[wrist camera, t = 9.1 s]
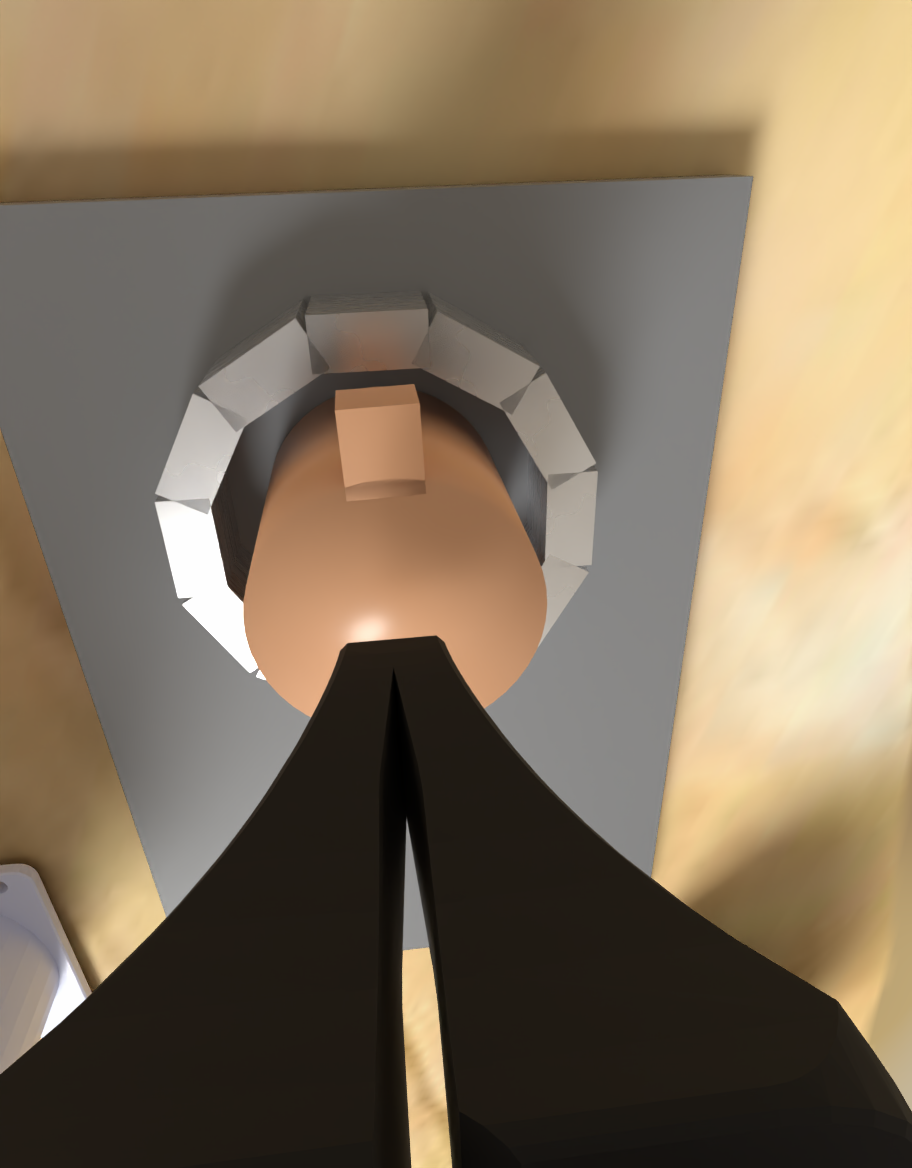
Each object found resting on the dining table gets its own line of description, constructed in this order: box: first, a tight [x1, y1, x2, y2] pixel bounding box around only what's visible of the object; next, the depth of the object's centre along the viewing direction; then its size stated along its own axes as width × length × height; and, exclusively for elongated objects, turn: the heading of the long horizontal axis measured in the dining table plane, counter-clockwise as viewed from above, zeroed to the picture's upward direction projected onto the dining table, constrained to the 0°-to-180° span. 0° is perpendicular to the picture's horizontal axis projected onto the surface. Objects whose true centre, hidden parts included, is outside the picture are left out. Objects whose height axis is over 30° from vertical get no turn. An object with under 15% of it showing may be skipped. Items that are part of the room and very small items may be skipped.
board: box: [0, 175, 753, 950], centre depth 20 cm, size 15×22×1 cm
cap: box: [243, 384, 547, 717], centre depth 15 cm, size 5×7×5 cm
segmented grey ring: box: [155, 290, 598, 680], centre depth 16 cm, size 8×8×2 cm
